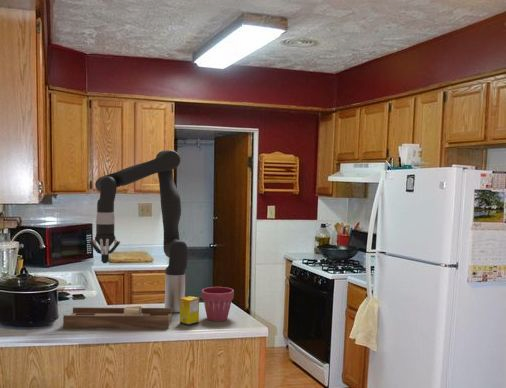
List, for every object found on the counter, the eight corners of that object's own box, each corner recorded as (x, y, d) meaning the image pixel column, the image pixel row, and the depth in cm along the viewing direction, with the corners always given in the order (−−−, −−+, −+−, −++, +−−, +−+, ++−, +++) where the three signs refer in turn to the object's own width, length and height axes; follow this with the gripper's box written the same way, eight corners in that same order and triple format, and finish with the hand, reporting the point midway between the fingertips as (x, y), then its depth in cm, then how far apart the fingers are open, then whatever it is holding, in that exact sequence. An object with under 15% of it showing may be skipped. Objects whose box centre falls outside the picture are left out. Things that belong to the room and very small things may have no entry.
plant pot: (206, 324, 208) (206, 294, 208) (197, 315, 221) (198, 287, 221) (237, 321, 214) (238, 292, 214) (227, 313, 227) (227, 286, 227)
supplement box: (189, 320, 213) (189, 295, 213) (199, 323, 209) (199, 297, 209) (179, 323, 208) (179, 297, 208) (188, 326, 205) (189, 300, 204)
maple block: (127, 315, 208) (127, 305, 208) (141, 315, 208) (141, 306, 208) (123, 318, 202) (124, 309, 202) (138, 319, 202) (138, 309, 202)
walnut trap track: (73, 318, 211) (73, 307, 211) (171, 319, 214) (171, 308, 214) (63, 328, 197) (63, 315, 197) (168, 328, 200) (168, 316, 200)
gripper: (122, 222, 214) (122, 261, 214) (91, 222, 213) (91, 261, 213) (119, 223, 207) (119, 264, 207) (87, 223, 205) (87, 264, 206)
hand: (104, 263), depth 210 cm, fingers closed
